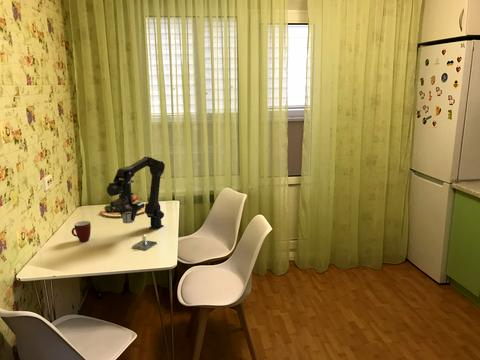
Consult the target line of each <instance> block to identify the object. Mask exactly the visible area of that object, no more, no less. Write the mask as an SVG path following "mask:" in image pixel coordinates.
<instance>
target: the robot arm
mask: <svg viewBox="0 0 480 360" xmlns="http://www.w3.org/2000/svg"><path fill="white" fill-rule="evenodd" d="M146 167H148V168H149V172H150V175H151V182H150V192H149V200H148V202H145V203H146V204H145V206H144V203H143V202H144V201H140V202H136V203H133V202H134V200H132V197H133V196H134V192H133V191H132V183H134V182H135V180H133V179H132V178H133V177H134V176H135V174H136V173H137V172H139V171H140V170H142V169H144V168H146ZM165 167H166V165H165V163H164V161H160V160H158V159H155V158H154V157H151V156H144V157H142V158H141V159H139V160H137V161H136V162H133V163H132V164H131V165H129V166H127V165H126V166H124V167H120V168H118V169H117V171H116V174H115V176H114V178H113V180H112V181H113V182H109V183H108V186H107V188H106V193H107V195H109V196H110V197H114V196H118V198H117V199H114V200H111V202H110V203H109V204H110V205H111V207H115V209H117V210H119V212H120V214H121V216H122V214H123V213H125V211H126V206H130V207H132V209H130V211H131V214H132V220H136V217H137V216H136V214H137V212H138V210H139V209H141V208H144V207H145V213H144V214H146V217H147V218H150V219H149V220H150V222H149V223H150V226H148V228H149V229H153V230H159V229H162V228H163V227H164V226H165V225H164V224H162V223H163V222H162V219H163V218H164V216H165V213H164V212H163V211H162V210H161V204H160V202H159V198H160V197H159V195H160V186H161V177H162V175H163V174H164V171H165ZM129 204H130V205H129Z"/></svg>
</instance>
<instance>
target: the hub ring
mask: <svg viewBox="0 0 480 360" xmlns="http://www.w3.org/2000/svg"><path fill="white" fill-rule="evenodd" d="M121 219H122V223H123V224H133V223H135V220H136V219H134V220H132V214H131V212H126V213H123V214H122V218H121Z"/></svg>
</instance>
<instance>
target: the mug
mask: <svg viewBox="0 0 480 360" xmlns="http://www.w3.org/2000/svg"><path fill="white" fill-rule="evenodd" d="M91 230H92V226H91V221H88V220H82V221H81V220H80V221H78V222H75V223H74V227H73V228H72V229H71V234H72V236H74V237H76V238H77V239H78V240H79V242H80V243H85V242H88V241H89V239H90V237H91Z"/></svg>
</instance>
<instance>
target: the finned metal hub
mask: <svg viewBox="0 0 480 360" xmlns="http://www.w3.org/2000/svg"><path fill="white" fill-rule="evenodd" d="M141 235H142V236H141V238H142V240H140V241H138V242H136V243H134V244H132V246H131V248H132V249H137V250H138V249H139V250H144V251H148V250H149V249H151V248H154V246H156V245H158V242H157V241H153V240H147V234H145V233H144V234H141Z"/></svg>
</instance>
